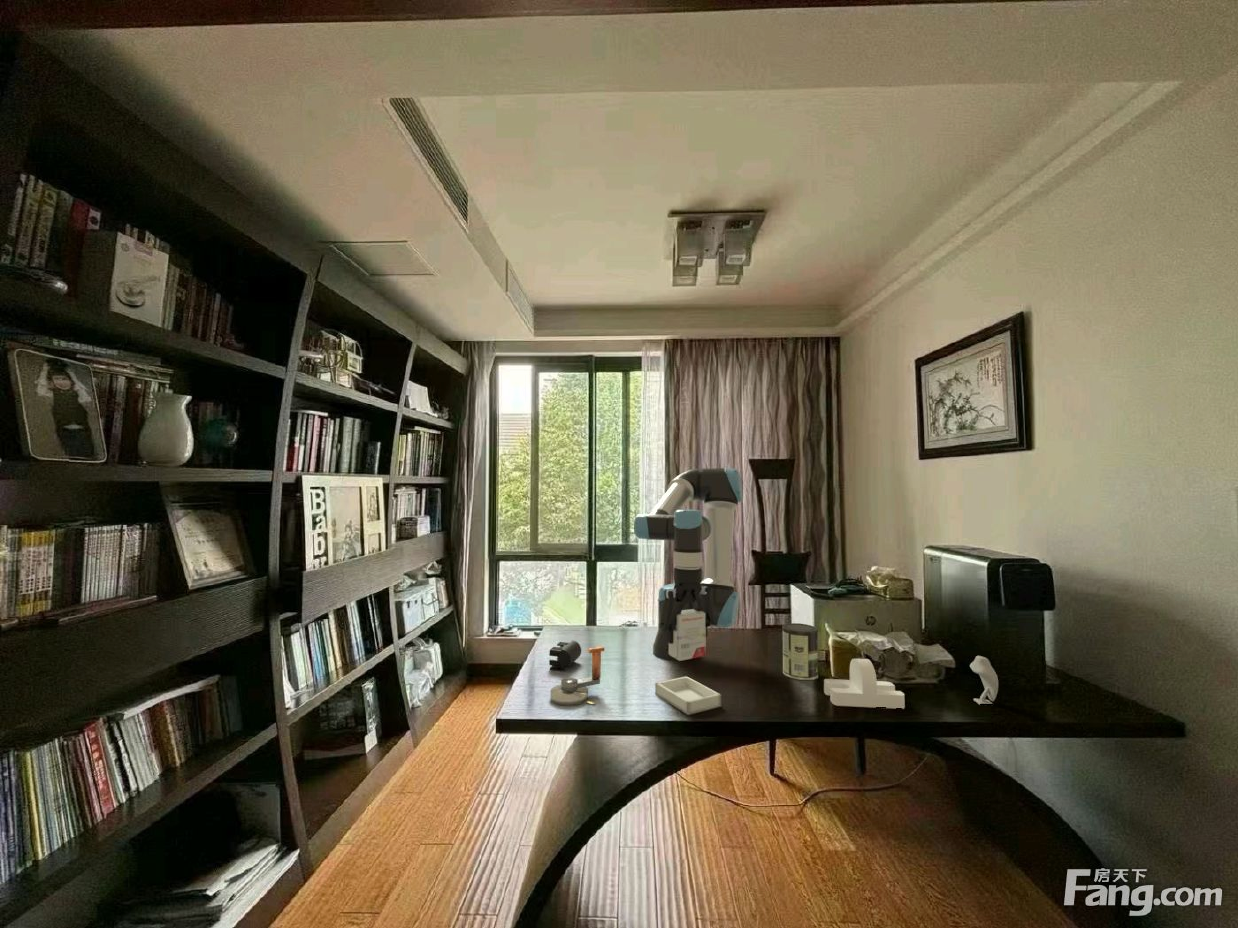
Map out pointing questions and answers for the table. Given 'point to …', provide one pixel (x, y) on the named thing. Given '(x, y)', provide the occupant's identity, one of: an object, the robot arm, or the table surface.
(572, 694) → the crank housing
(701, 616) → the ink box
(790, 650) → the coffee can
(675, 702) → the tray
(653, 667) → the table surface
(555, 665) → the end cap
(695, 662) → the table surface
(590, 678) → the crank
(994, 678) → the figurine
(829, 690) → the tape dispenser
